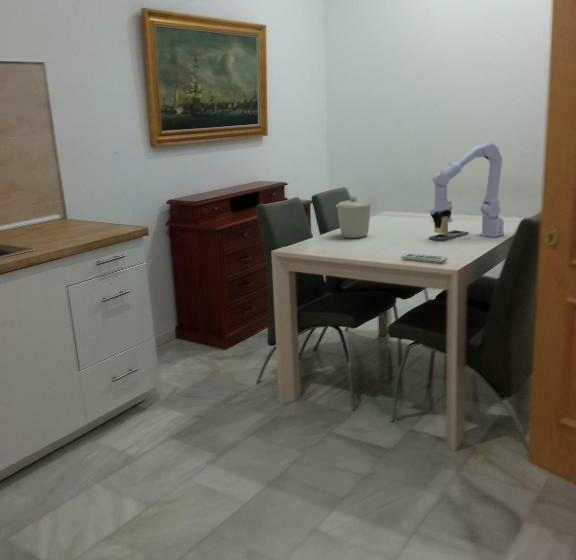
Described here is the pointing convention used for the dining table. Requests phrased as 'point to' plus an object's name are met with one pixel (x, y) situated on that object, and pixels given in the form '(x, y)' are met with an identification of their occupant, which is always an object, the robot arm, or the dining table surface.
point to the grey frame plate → (448, 235)
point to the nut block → (442, 225)
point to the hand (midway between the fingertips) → (441, 227)
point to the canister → (354, 217)
